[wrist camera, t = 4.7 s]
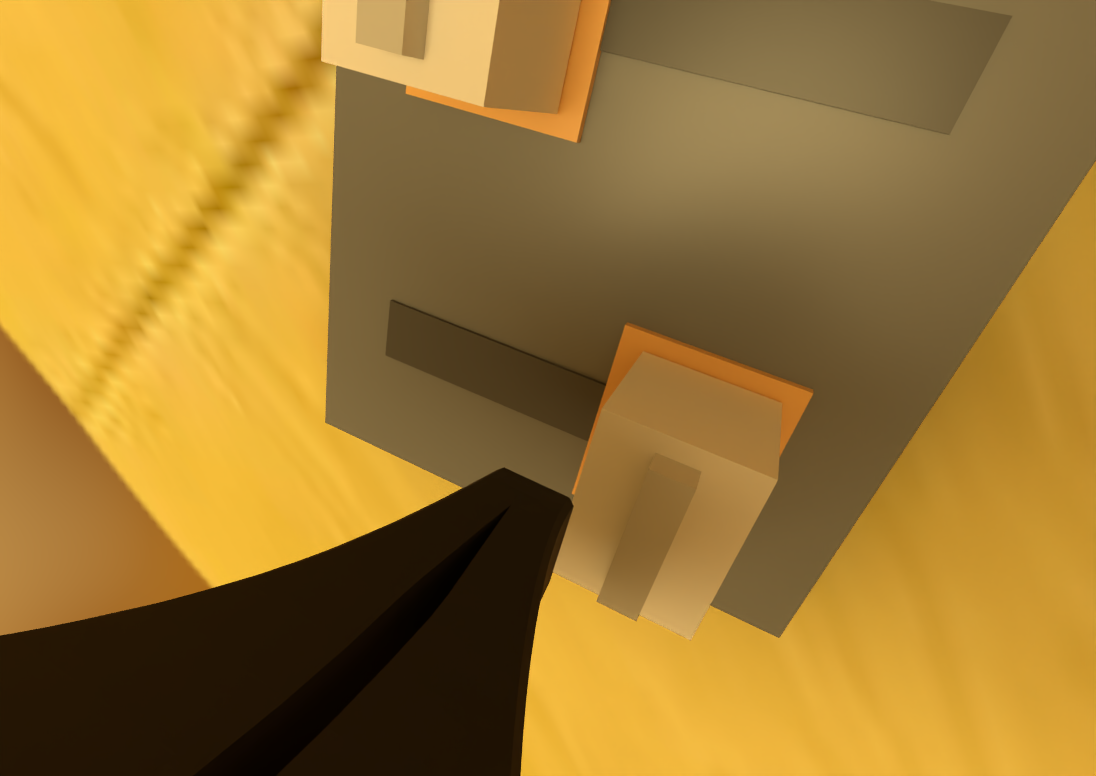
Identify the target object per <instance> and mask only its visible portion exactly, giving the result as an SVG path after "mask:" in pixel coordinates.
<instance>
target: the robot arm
mask: <svg viewBox="0 0 1096 776" xmlns="http://www.w3.org/2000/svg"><path fill="white" fill-rule="evenodd" d="M573 507H574V505H573V503H572V501H571V499H570V498H569V497H567V496H565V495H563V494H561V493H559V492H556V491H554V490H552V489H550V488H548V487H546V486H543V485H541V484H539V483H537V482H535V481H533V480H530V479H528V478H526V477H524V476H522V475H520V474H517V473H515V472H513V471H511V470H509V469H507V468H505V467H503V468H501V469H498V470H496V471H494V472H492V473H490V474H488V475H486V476H484V477H483V478H481V479H479V480H477V481H475V482H473V483H471V484H470V485H468V486H466V487H464V488H462V489H460V490H458V491H456V492H454V493H452V494H450V495H449V496H447V497H445V498H443V499H441V500H439V501H437V502H435V503H433V504H431V505H429V506H427V507H424V508H422V509H420V510H418V511H416V512H414V513H412V514H410V515H408V516H406V517H404V518H402V519H400V520H397V521H395V522H393V523H391V524H389V525H386V526H384V527H382V528H379V529H377V530H375V531H372V532H370V533H368V534H365V535H363V536H361V537H358V538H356V539H353V540H351V541H349V542H346V543H344V544H342V545H339V546H337V547H334V548H332V549H329V550H327V551H324V552H321V553H319V554H316V555H313V556H311V557H308V558H305V559H302V560H300V561H297V562H294V563H291V564H288V565H285V566H282V567H279V568H276V569H273V570H271V571H268V572H265V573H262V574H258V575H255V576H252V577H249V578H245V579H242V580H239V581H235V582H232V583H228V584H225V585H222V586H218V587H215V588H211V589H208V590H205V591H201V592H197V593H194V594H190V595H186V596H183V597H179V598H175V599H172V600H168V601H164V602H160V603H156V604H151V605H147V606H142V607H138V608H133V609H129V610H124V611H120V612H116V613H111V614H107V615H103V616H98V617H94V618H89V619H85V620H80V621H75V622H70V623H65V624H60V625H55V626H50V627H45V628H40V629H35V630H29V631H24V632H18V633H14V634H7V635H1V636H0V776H520V773H521V757H522V742H523V729H524V717H525V706H526V695H527V686H528V677H529V669H530V661H531V654H532V647H533V640H534V634H535V627H536V621H537V616H538V610H539V605H540V601H541V599H542V597H543V595H544V592H545V590H546V588H547V586H548V584H549V582H550V579H551V576H552V573H553V569H554V566H555V563H556V560H557V557H558V554H559V551H560V548H561V545H562V542H563V538H564V535H565V532H566V529H567V526H568V523H569V520H570V517H571V514H572V511H573Z"/></svg>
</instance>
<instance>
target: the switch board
mask: <svg viewBox="0 0 1096 776" xmlns="http://www.w3.org/2000/svg"><path fill="white" fill-rule="evenodd" d="M1095 161H1096V0H581V3H580V8H579V12H578V17H577V22H576V27H575V32H574V36H573V41H572V46H571V51H570V55H569V60H568V65H567V70H566V75H565V79H564V84H563V89H562V94H561V99H560V103H559V108H558V113H557V114H551V113H541V112H530V111H520V110H509V109H499V108H488V107H482V106H478V105H475V104H471V103H467V102H464V101H460V100H457V99H453V98H450V97H446V96H443V95H439V94H436V93H432V92H429V91H425V90H421V89H418V88H414V87H411V86H407V85H404V84H400V83H397V82H393V81H390V80H386V79H383V78H379V77H375V76H372V75H368V74H365V73H361V72H358V71H354V70H351V69H347V68H344V67H340V66H337V67H336V99H335V131H334V163H333V195H332V227H331V259H330V291H329V323H328V354H327V386H326V418H325V423H328V424H330V425H332V426H334V427H336V428H338V429H340V430H342V431H344V432H347V433H349V434H351V435H353V436H355V437H357V438H359V439H361V440H363V441H365V442H368V443H370V444H372V445H374V446H376V447H378V448H380V449H382V450H384V451H387V452H389V453H391V454H393V455H395V456H397V457H399V458H401V459H403V460H405V461H408V462H410V463H412V464H414V465H416V466H418V467H420V468H422V469H424V470H427V471H429V472H431V473H433V474H435V475H437V476H439V477H441V478H443V479H445V480H448V481H450V482H452V483H454V484H456V485H458V486H460V487H462V488H464V487H466V486H468V485H470V484H471V483H473V482H475V481H477V480H479V479H481V478H483V477H484V476H486V475H488V474H490V473H492V472H494V471H496V470H498V469H501V468H503V467H505V468H507V469H509V470H511V471H513V472H515V473H517V474H520V475H522V476H524V477H526V478H528V479H530V480H533V481H535V482H537V483H539V484H541V485H543V486H546V487H548V488H550V489H552V490H554V491H556V492H559V493H561V494H563V495H565V496H567V497H569V498H570V499H571V501H572V500H573V497H574V494H575V491H576V488H577V485H578V482H579V479H580V475H581V472H582V469H583V466H584V463H585V460H586V457H587V453H588V450H589V447H590V444H591V441H592V438H593V435H594V432H595V428H596V425H597V422H598V419H599V416H600V413H601V410H602V408H603V406H604V405H605V403H606V402H607V401H608V399H609V398H610V396H611V395H612V394H613V392H614V391H615V390H616V388H617V387H618V385H619V384H620V383H621V381H622V380H623V378H624V377H625V376H626V374H627V373H628V372H629V370H630V369H631V367H632V366H633V365H634V363H635V362H636V360H637V359H638V358H639V356H640V355H641V353H642V352H643V351H644V352H647V353H650V354H653V355H655V356H658V357H661V358H663V359H666V360H669V361H671V362H674V363H677V364H679V365H682V366H685V367H687V368H690V369H693V370H695V371H698V372H701V373H703V374H706V375H709V376H711V377H714V378H717V379H719V380H722V381H725V382H727V383H730V384H733V385H736V386H738V387H741V388H744V389H746V390H749V391H752V392H754V393H757V394H760V395H762V396H765V397H768V398H770V399H773V400H776V401H778V402H781V403H782V419H781V437H780V454H779V472H778V481H777V483H776V485H775V487H774V488H773V490H772V492H771V494H770V496H769V498H768V499H767V501H766V503H765V505H764V507H763V509H762V511H761V512H760V514H759V516H758V518H757V520H756V522H755V523H754V525H753V527H752V529H751V531H750V533H749V534H748V536H747V538H746V540H745V542H744V544H743V545H742V547H741V549H740V551H739V553H738V555H737V556H736V558H735V560H734V562H733V564H732V566H731V568H730V569H729V571H728V573H727V575H726V577H725V579H724V580H723V582H722V584H721V586H720V588H719V590H718V591H717V593H716V595H715V597H714V599H713V601H712V602H711V604H710V605H711V606H713V607H715V608H717V609H719V610H721V611H723V612H726V613H728V614H730V615H732V616H734V617H736V618H738V619H740V620H742V621H745V622H747V623H749V624H751V625H753V626H755V627H757V628H759V629H761V630H763V631H766V632H768V633H770V634H772V635H774V636H776V637H778V638H779V637H780V636H781V634H782V633H783V631H784V630H785V628H786V627H787V625H788V624H789V622H790V621H791V619H792V618H793V616H794V615H795V613H796V612H797V610H798V609H799V607H800V606H801V604H802V603H803V601H804V600H805V598H806V597H807V595H808V594H809V592H810V591H811V589H812V588H813V586H814V585H815V583H816V582H817V580H818V579H819V577H820V576H821V574H822V573H823V571H824V570H825V568H826V566H827V565H828V563H829V562H830V560H831V559H832V557H833V556H834V554H835V553H836V551H837V550H838V548H839V547H840V545H841V544H842V542H843V541H844V539H845V538H846V536H847V535H848V533H849V532H850V530H851V529H852V527H853V526H854V524H855V523H856V521H857V520H858V518H859V517H860V515H861V514H862V512H863V511H864V509H865V508H866V506H867V505H868V503H869V502H870V500H871V499H872V497H873V496H874V494H875V493H876V491H877V490H878V488H879V487H880V485H881V484H882V482H883V481H884V479H885V477H886V476H887V474H888V473H889V471H890V470H891V468H892V467H893V465H894V464H895V462H896V461H897V459H898V458H899V456H900V455H901V453H902V452H903V450H904V449H905V447H906V446H907V444H908V443H909V441H910V440H911V438H912V437H913V435H914V434H915V432H916V431H917V429H918V428H919V426H920V425H921V423H922V422H923V420H924V419H925V417H926V416H927V414H928V413H929V411H930V410H931V408H932V407H933V405H934V404H935V402H936V401H937V399H938V398H939V396H940V395H941V393H942V392H943V390H944V389H945V387H946V385H947V384H948V382H949V381H950V379H951V378H952V376H953V375H954V373H955V372H956V370H957V369H958V367H959V366H960V364H961V363H962V361H963V360H964V358H965V357H966V355H967V354H968V352H969V351H970V349H971V348H972V346H973V345H974V343H975V342H976V340H977V339H978V337H979V336H980V334H981V333H982V331H983V330H984V328H985V327H986V325H987V324H988V322H989V321H990V319H991V318H992V316H993V315H994V313H995V312H996V310H997V309H998V307H999V306H1000V304H1001V303H1002V301H1003V300H1004V298H1005V296H1006V295H1007V293H1008V292H1009V290H1010V289H1011V287H1012V286H1013V284H1014V283H1015V281H1016V280H1017V278H1018V277H1019V275H1020V274H1021V272H1022V271H1023V269H1024V268H1025V266H1026V265H1027V263H1028V262H1029V260H1030V259H1031V257H1032V256H1033V254H1034V253H1035V251H1036V250H1037V248H1038V247H1039V245H1040V244H1041V242H1042V241H1043V239H1044V238H1045V236H1046V235H1047V233H1048V232H1049V230H1050V229H1051V227H1052V226H1053V224H1054V223H1055V221H1056V220H1057V218H1058V217H1059V215H1060V214H1061V212H1062V211H1063V209H1064V207H1065V206H1066V204H1067V203H1068V201H1069V200H1070V198H1071V197H1072V195H1073V194H1074V192H1075V191H1076V189H1077V188H1078V186H1079V185H1080V183H1081V182H1082V180H1083V179H1084V177H1085V176H1086V174H1087V173H1088V171H1089V170H1090V168H1091V167H1092V165H1093V164H1094V162H1095Z"/></svg>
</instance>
